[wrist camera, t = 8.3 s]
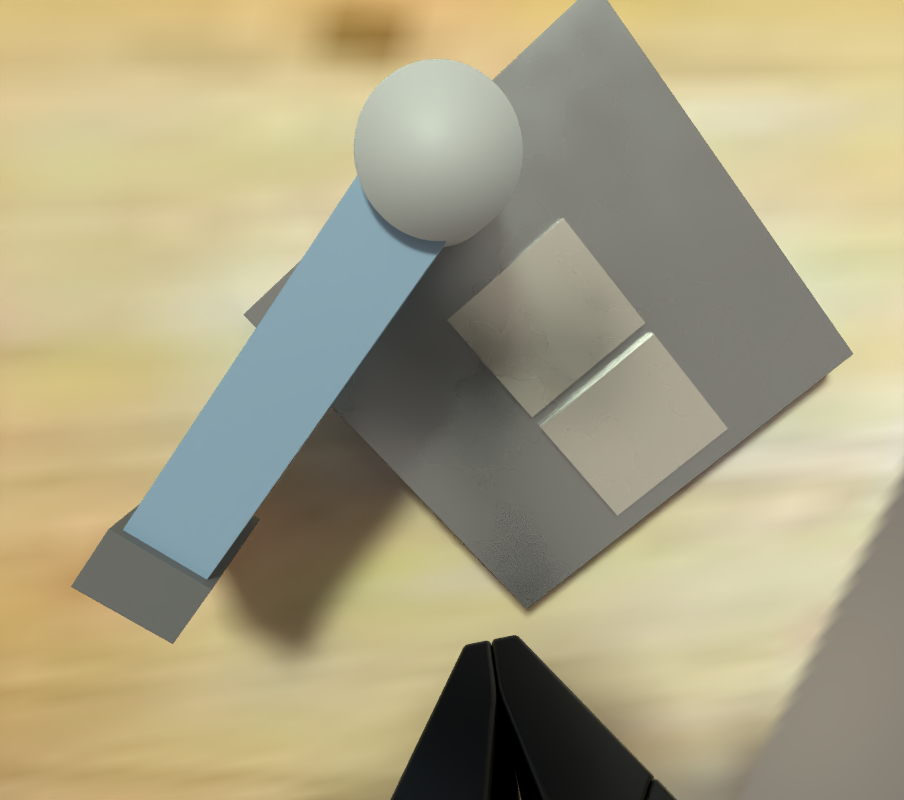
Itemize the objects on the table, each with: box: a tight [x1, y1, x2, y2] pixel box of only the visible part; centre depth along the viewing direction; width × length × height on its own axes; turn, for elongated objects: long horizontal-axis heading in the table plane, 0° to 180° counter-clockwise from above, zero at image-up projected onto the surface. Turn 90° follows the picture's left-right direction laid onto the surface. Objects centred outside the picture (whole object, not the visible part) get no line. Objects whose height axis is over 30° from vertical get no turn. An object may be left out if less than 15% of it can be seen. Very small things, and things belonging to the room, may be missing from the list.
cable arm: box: [71, 59, 523, 644], centre depth 12 cm, size 13×3×4 cm, turn 144°
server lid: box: [244, 0, 853, 609], centre depth 16 cm, size 12×12×2 cm
